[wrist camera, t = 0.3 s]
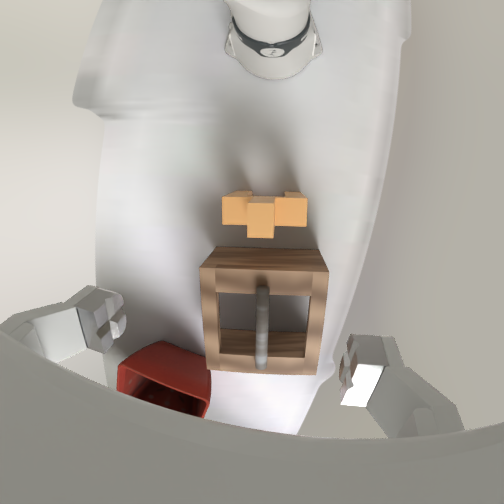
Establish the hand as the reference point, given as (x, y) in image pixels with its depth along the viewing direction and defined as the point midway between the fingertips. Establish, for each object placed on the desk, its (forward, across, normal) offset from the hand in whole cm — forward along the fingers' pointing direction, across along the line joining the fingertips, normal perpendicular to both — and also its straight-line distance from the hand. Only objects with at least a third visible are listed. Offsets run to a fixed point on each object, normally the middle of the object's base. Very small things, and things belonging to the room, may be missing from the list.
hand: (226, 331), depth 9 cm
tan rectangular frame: (+44, +2, +24) cm, 50 cm away
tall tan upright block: (+46, +4, +5) cm, 46 cm away
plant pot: (+41, +21, +46) cm, 65 cm away
